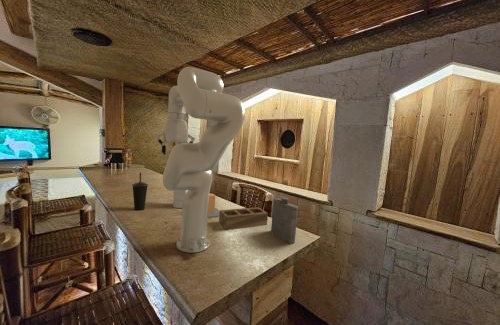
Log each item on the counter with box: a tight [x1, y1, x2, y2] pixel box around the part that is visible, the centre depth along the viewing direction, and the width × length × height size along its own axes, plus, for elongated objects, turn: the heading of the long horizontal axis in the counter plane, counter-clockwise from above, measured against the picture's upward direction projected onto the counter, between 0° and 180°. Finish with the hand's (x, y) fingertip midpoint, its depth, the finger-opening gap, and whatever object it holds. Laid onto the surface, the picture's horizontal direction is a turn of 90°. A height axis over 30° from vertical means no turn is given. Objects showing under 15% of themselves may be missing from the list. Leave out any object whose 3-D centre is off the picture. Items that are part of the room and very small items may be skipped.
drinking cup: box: [131, 172, 149, 212], centre depth 118 cm, size 8×8×20 cm
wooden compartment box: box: [218, 206, 269, 231], centre depth 110 cm, size 10×22×6 cm, turn 117°
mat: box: [207, 207, 220, 219], centre depth 121 cm, size 12×12×1 cm
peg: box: [208, 193, 216, 214], centre depth 120 cm, size 4×4×10 cm
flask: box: [270, 196, 299, 245], centre depth 98 cm, size 4×14×18 cm, turn 34°
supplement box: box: [172, 190, 188, 209], centre depth 129 cm, size 7×7×13 cm
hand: (175, 154), depth 103 cm, fingers open, 9 cm apart
